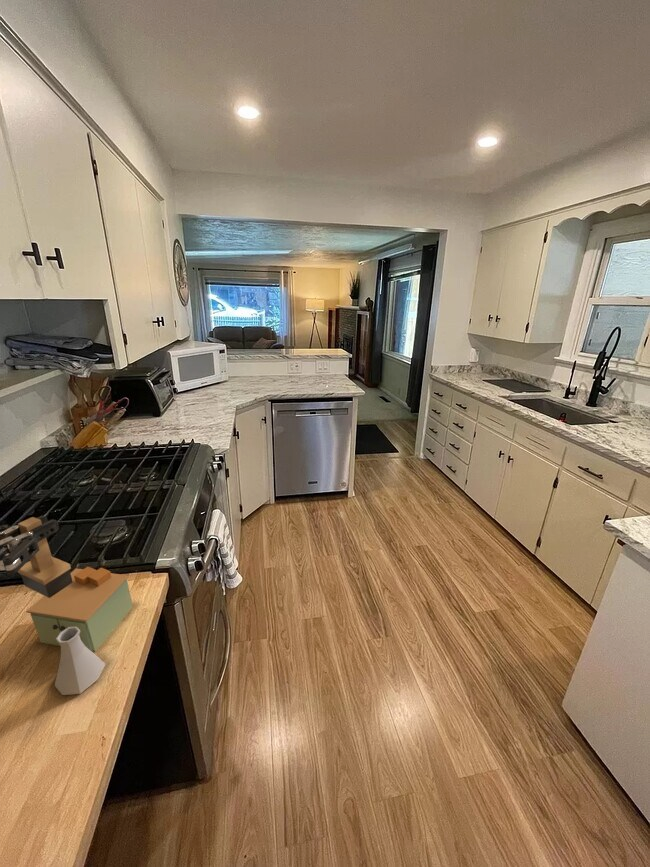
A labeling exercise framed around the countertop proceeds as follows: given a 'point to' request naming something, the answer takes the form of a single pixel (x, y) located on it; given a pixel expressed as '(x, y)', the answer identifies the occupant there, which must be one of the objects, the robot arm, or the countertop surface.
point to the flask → (76, 664)
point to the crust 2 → (99, 576)
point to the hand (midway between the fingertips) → (51, 522)
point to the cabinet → (83, 610)
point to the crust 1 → (84, 575)
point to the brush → (44, 566)
